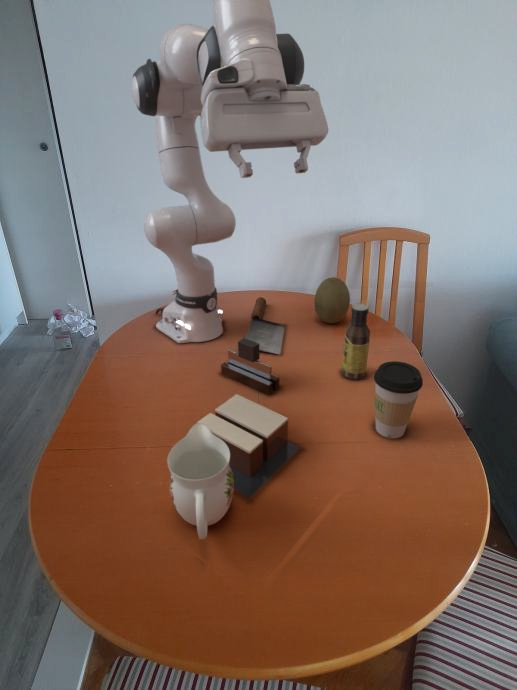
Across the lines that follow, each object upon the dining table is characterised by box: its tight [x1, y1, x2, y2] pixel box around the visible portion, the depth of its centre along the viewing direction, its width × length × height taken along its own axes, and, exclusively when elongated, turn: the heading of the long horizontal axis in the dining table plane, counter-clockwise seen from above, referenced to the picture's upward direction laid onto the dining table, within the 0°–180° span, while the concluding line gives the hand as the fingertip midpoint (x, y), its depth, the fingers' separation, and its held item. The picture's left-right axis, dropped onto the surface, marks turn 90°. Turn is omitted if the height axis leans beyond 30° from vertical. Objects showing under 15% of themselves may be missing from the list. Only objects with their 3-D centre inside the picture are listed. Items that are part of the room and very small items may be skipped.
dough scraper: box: [227, 337, 272, 382], centre depth 114 cm, size 14×2×11 cm, turn 52°
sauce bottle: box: [341, 302, 371, 380], centre depth 113 cm, size 6×6×20 cm
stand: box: [220, 361, 280, 396], centre depth 116 cm, size 16×4×3 cm, turn 52°
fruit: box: [313, 277, 351, 325], centre depth 142 cm, size 11×11×15 cm
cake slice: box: [196, 412, 263, 477], centre depth 90 cm, size 14×4×7 cm, turn 52°
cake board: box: [214, 393, 301, 499], centre depth 91 cm, size 20×17×7 cm
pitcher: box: [166, 422, 235, 540], centre depth 76 cm, size 11×18×14 cm, turn 6°
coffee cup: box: [373, 360, 424, 439], centre depth 95 cm, size 10×10×15 cm
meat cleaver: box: [244, 296, 286, 355], centre depth 142 cm, size 34×11×4 cm, turn 173°
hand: (275, 174), depth 69 cm, fingers open, 8 cm apart
